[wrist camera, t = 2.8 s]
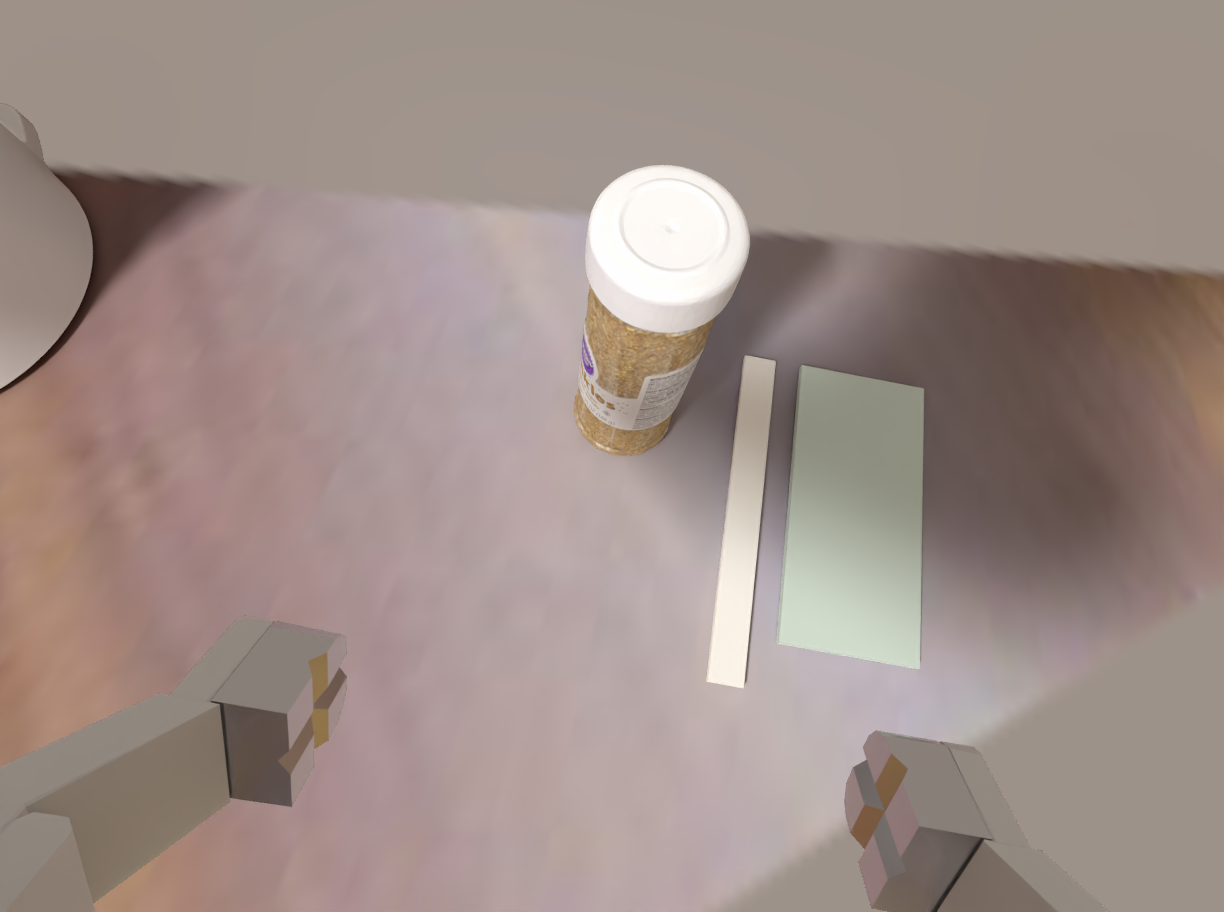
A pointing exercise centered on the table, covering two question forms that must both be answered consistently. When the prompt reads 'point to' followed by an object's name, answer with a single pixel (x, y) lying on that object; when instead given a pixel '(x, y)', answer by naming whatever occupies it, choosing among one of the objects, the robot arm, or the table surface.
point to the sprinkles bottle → (652, 299)
